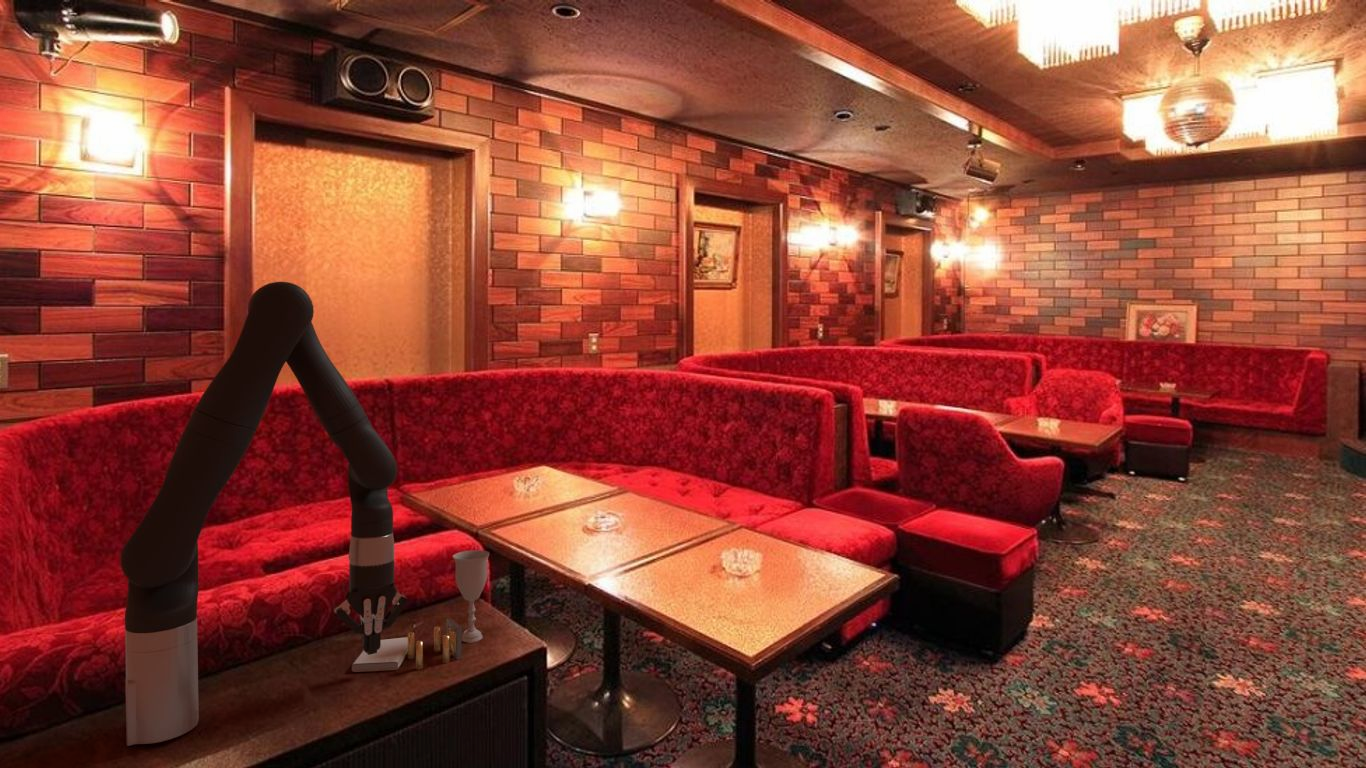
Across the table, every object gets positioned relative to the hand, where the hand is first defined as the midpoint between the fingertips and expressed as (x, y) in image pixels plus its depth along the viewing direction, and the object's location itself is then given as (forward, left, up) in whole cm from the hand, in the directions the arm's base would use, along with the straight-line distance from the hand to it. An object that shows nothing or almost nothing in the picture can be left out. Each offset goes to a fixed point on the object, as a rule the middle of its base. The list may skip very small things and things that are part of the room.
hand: (371, 652), depth 131 cm
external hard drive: (+1, +1, -3) cm, 3 cm away
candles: (+10, 0, -4) cm, 11 cm away
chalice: (+20, +3, -4) cm, 21 cm away
